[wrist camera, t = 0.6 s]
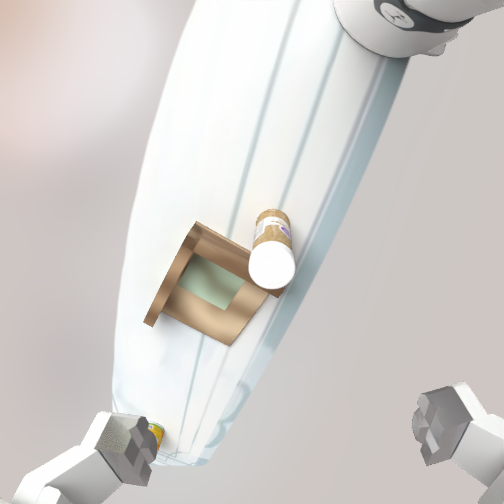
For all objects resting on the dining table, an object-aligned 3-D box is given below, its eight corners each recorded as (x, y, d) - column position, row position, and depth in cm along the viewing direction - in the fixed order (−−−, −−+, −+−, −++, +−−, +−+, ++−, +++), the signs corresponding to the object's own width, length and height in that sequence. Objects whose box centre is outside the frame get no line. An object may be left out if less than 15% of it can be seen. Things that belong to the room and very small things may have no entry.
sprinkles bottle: (296, 220, 42) (305, 265, 30) (276, 246, 44) (277, 298, 32) (267, 201, 41) (265, 239, 29) (248, 228, 43) (238, 275, 31)
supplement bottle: (157, 435, 66) (147, 466, 57) (139, 424, 65) (127, 455, 56) (168, 429, 64) (159, 462, 55) (149, 417, 63) (137, 450, 54)
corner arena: (196, 221, 43) (187, 234, 38) (283, 270, 45) (284, 289, 41) (153, 303, 49) (143, 322, 44) (229, 343, 51) (225, 364, 47)
